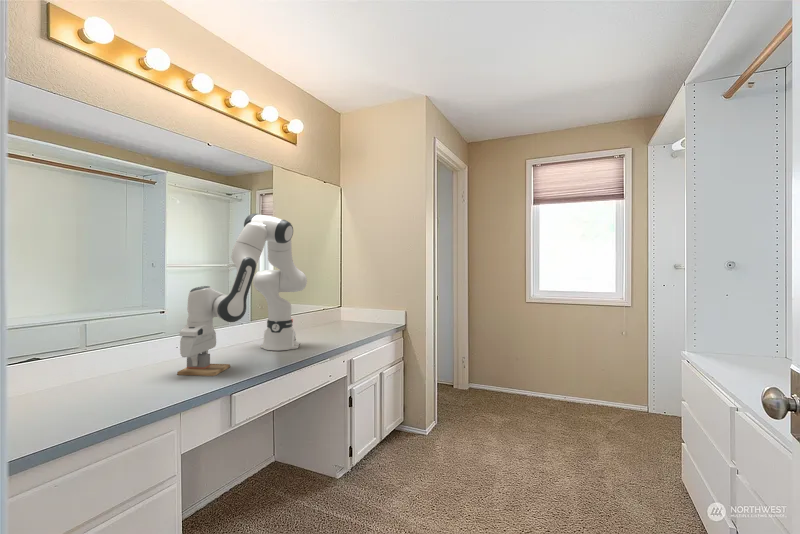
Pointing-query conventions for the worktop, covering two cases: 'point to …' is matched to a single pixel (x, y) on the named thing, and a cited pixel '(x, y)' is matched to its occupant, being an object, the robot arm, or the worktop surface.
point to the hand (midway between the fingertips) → (199, 363)
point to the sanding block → (200, 361)
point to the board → (205, 370)
